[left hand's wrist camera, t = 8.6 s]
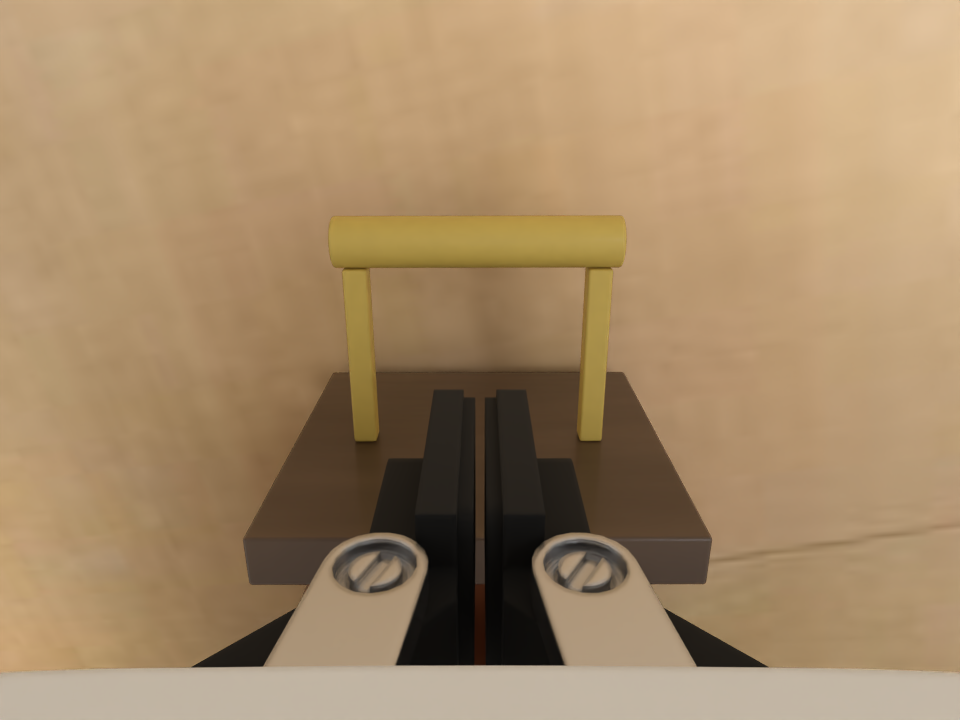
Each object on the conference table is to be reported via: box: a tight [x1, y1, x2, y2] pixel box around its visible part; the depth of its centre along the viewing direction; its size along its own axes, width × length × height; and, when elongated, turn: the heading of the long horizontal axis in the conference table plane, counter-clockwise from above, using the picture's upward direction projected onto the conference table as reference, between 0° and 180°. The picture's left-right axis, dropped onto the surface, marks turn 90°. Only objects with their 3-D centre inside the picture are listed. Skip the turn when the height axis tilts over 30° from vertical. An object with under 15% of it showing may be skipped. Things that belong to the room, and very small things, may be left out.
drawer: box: [243, 216, 712, 666], centre depth 20 cm, size 23×10×9 cm, turn 0°
